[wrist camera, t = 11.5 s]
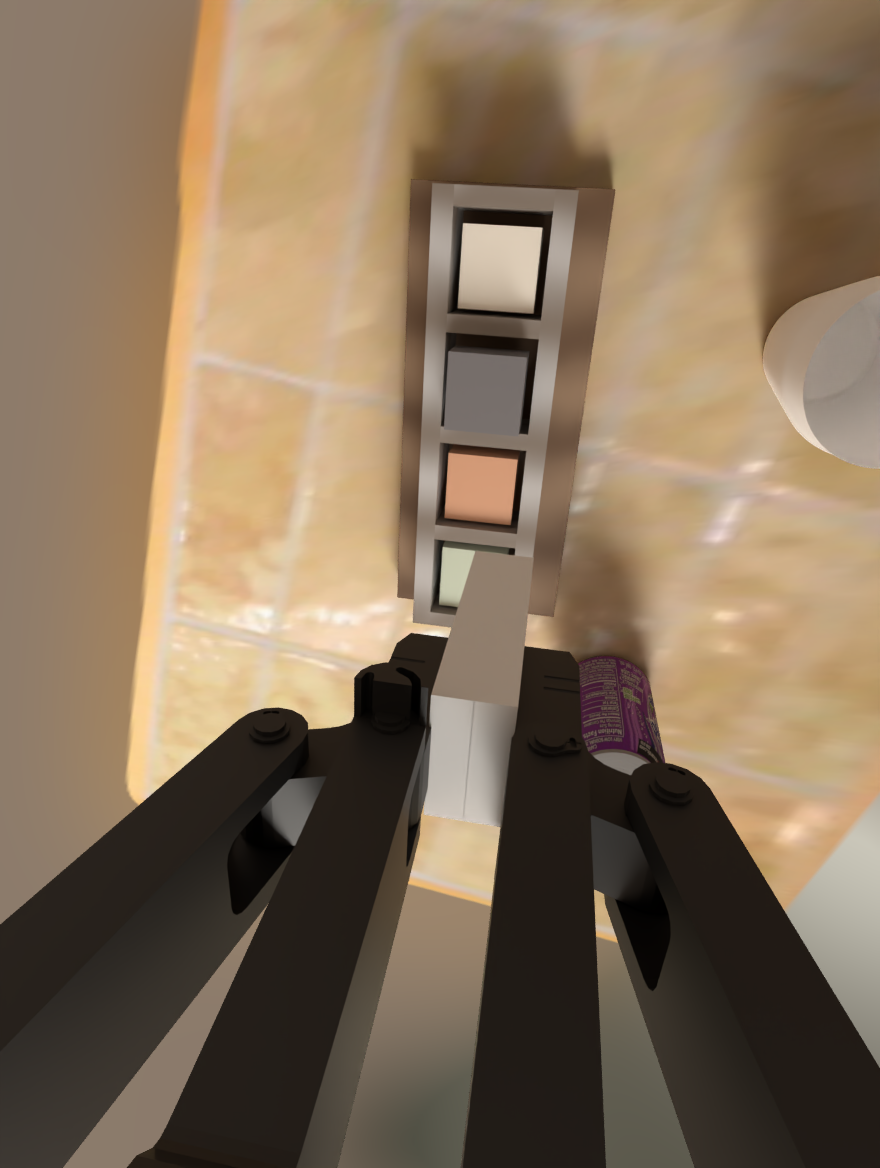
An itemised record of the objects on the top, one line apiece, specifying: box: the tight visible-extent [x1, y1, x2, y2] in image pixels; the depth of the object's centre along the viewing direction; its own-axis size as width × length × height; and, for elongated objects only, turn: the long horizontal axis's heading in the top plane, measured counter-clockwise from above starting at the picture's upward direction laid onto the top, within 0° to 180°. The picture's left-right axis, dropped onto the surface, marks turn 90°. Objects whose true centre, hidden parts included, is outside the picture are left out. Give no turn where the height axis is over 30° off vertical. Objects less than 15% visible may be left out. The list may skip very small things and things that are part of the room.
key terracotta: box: [445, 444, 520, 525], centre depth 46 cm, size 4×4×3 cm
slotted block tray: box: [397, 179, 615, 627], centre depth 45 cm, size 28×12×6 cm, turn 177°
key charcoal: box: [444, 345, 529, 436], centre depth 41 cm, size 4×4×3 cm
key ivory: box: [458, 223, 544, 314], centre depth 40 cm, size 4×4×3 cm
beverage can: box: [578, 656, 665, 775], centre depth 51 cm, size 7×7×12 cm
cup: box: [763, 276, 880, 469], centre depth 38 cm, size 9×9×12 cm
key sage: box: [439, 541, 509, 607], centre depth 49 cm, size 4×4×3 cm
